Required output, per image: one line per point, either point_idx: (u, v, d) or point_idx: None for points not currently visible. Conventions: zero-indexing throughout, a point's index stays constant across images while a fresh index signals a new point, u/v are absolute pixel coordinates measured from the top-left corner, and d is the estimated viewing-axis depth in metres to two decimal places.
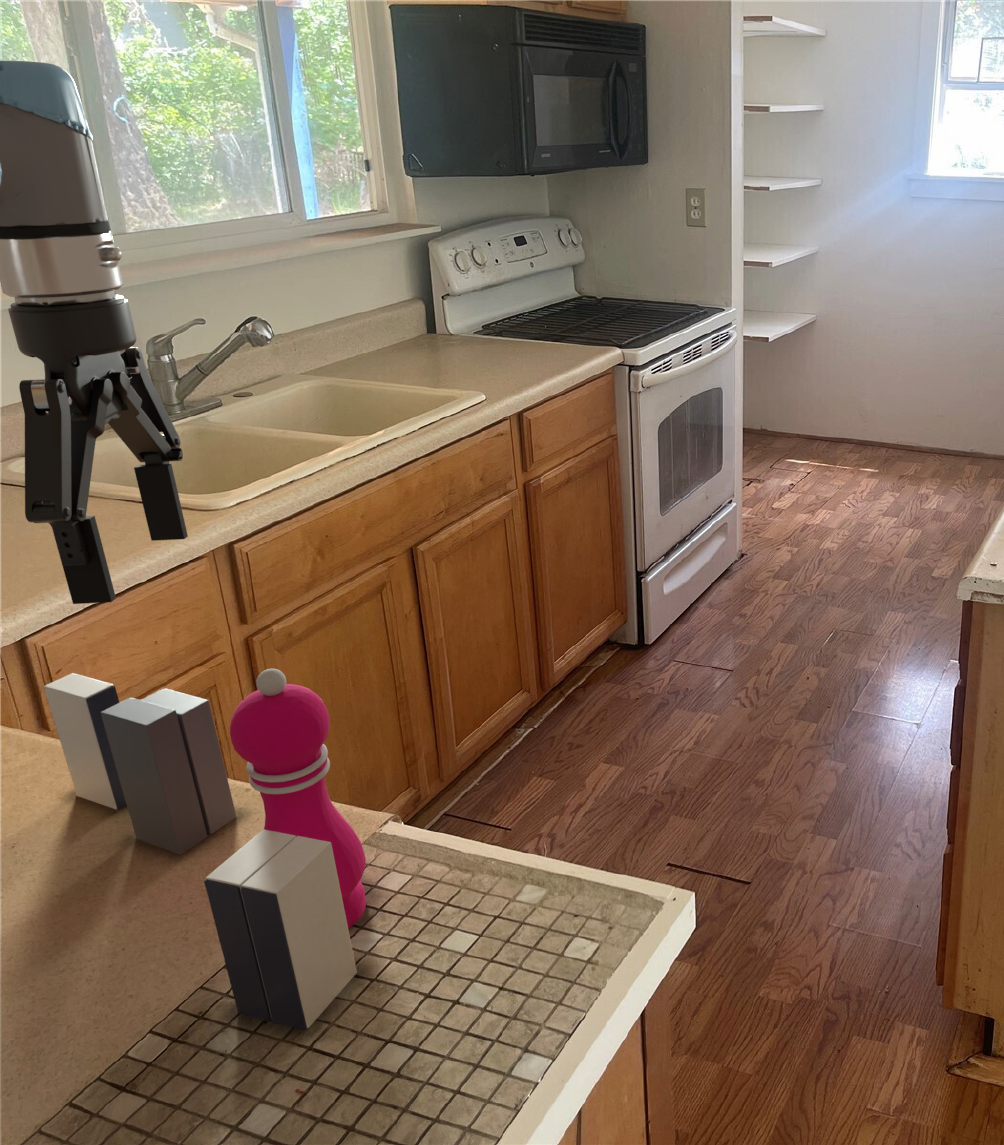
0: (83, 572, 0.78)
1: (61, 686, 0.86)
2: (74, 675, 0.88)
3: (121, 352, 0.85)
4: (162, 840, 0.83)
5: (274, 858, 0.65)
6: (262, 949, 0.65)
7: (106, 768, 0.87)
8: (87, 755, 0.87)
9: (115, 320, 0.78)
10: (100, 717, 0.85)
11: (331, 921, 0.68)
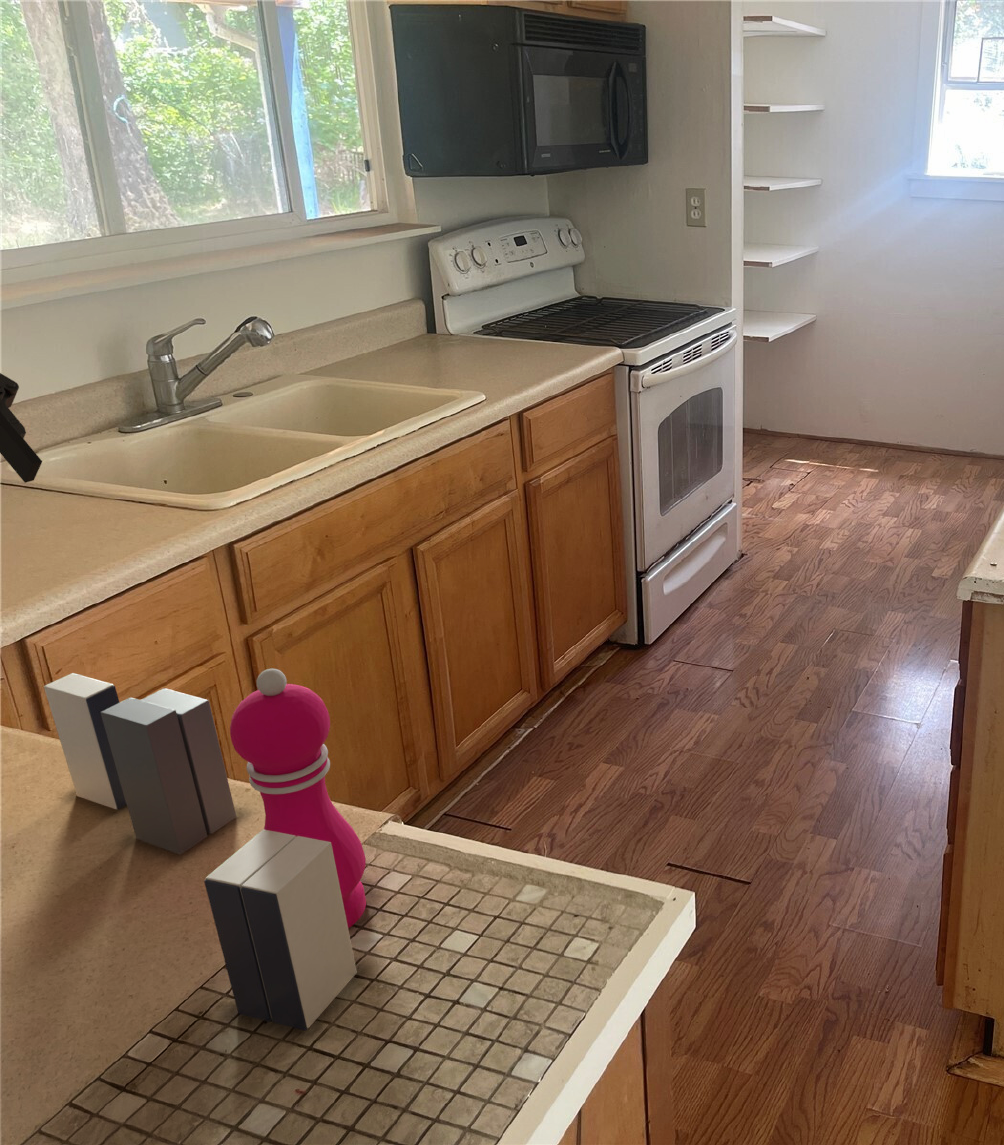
0: None
1: (61, 686, 0.86)
2: (74, 675, 0.88)
3: None
4: (162, 840, 0.83)
5: (274, 858, 0.65)
6: (262, 949, 0.65)
7: (106, 768, 0.87)
8: (87, 755, 0.87)
9: None
10: (100, 717, 0.85)
11: (331, 921, 0.68)
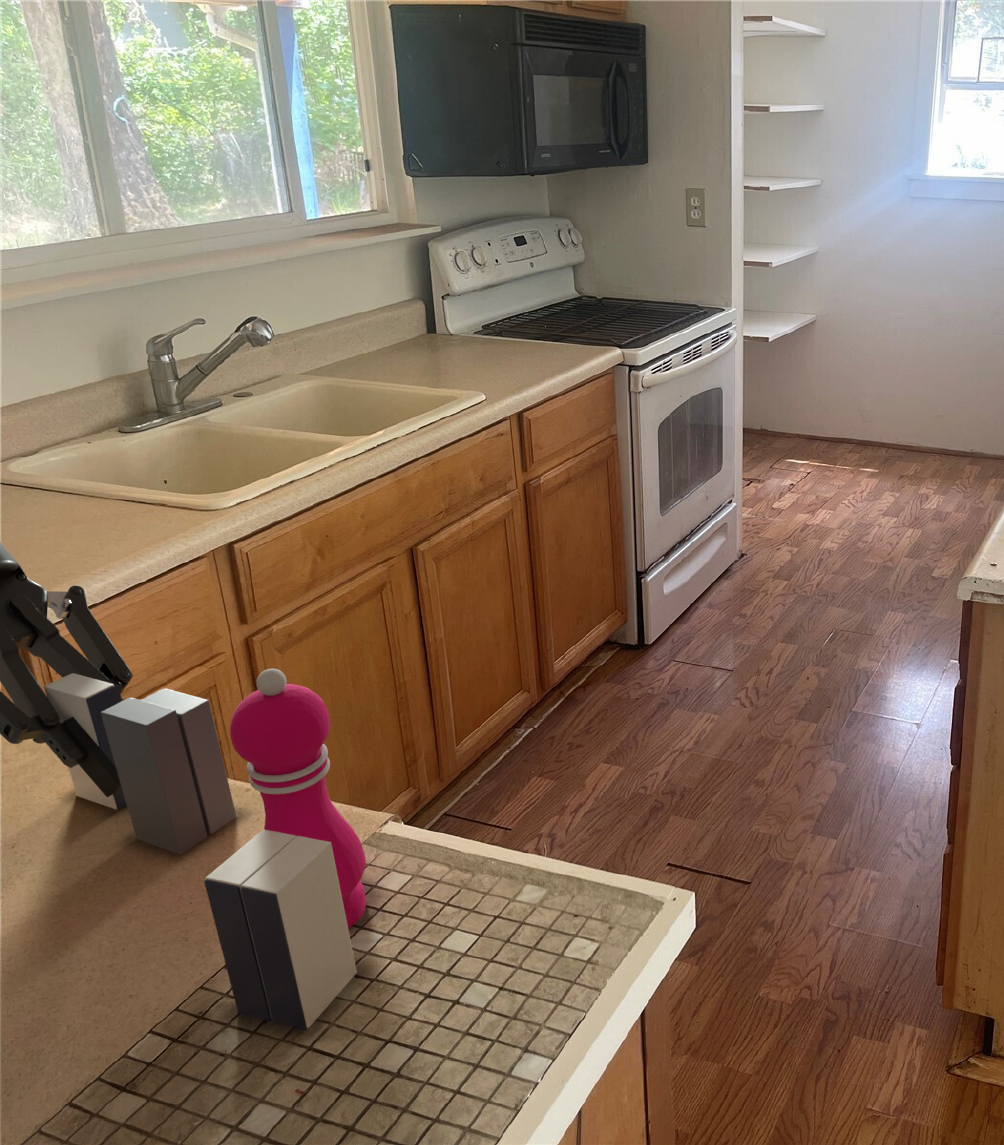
0: (92, 767, 0.86)
1: (61, 686, 0.86)
2: (74, 675, 0.88)
3: (63, 592, 0.92)
4: (162, 840, 0.83)
5: (274, 858, 0.65)
6: (262, 949, 0.65)
7: None
8: None
9: None
10: (100, 717, 0.85)
11: (331, 921, 0.68)
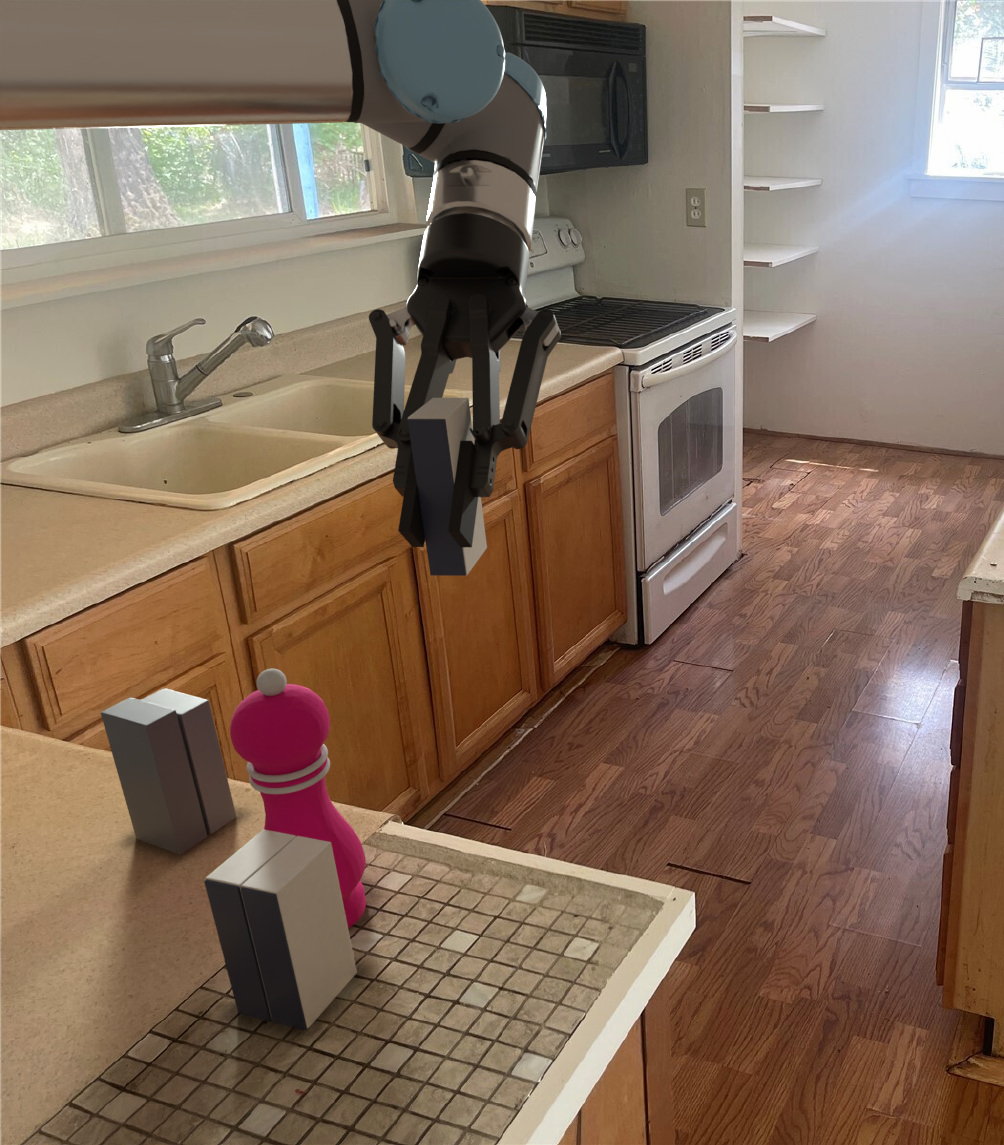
0: None
1: (432, 403, 0.71)
2: (462, 399, 0.72)
3: None
4: (162, 840, 0.83)
5: (274, 858, 0.65)
6: (262, 949, 0.65)
7: (421, 513, 0.70)
8: None
9: (442, 228, 0.74)
10: (421, 449, 0.69)
11: (331, 921, 0.68)
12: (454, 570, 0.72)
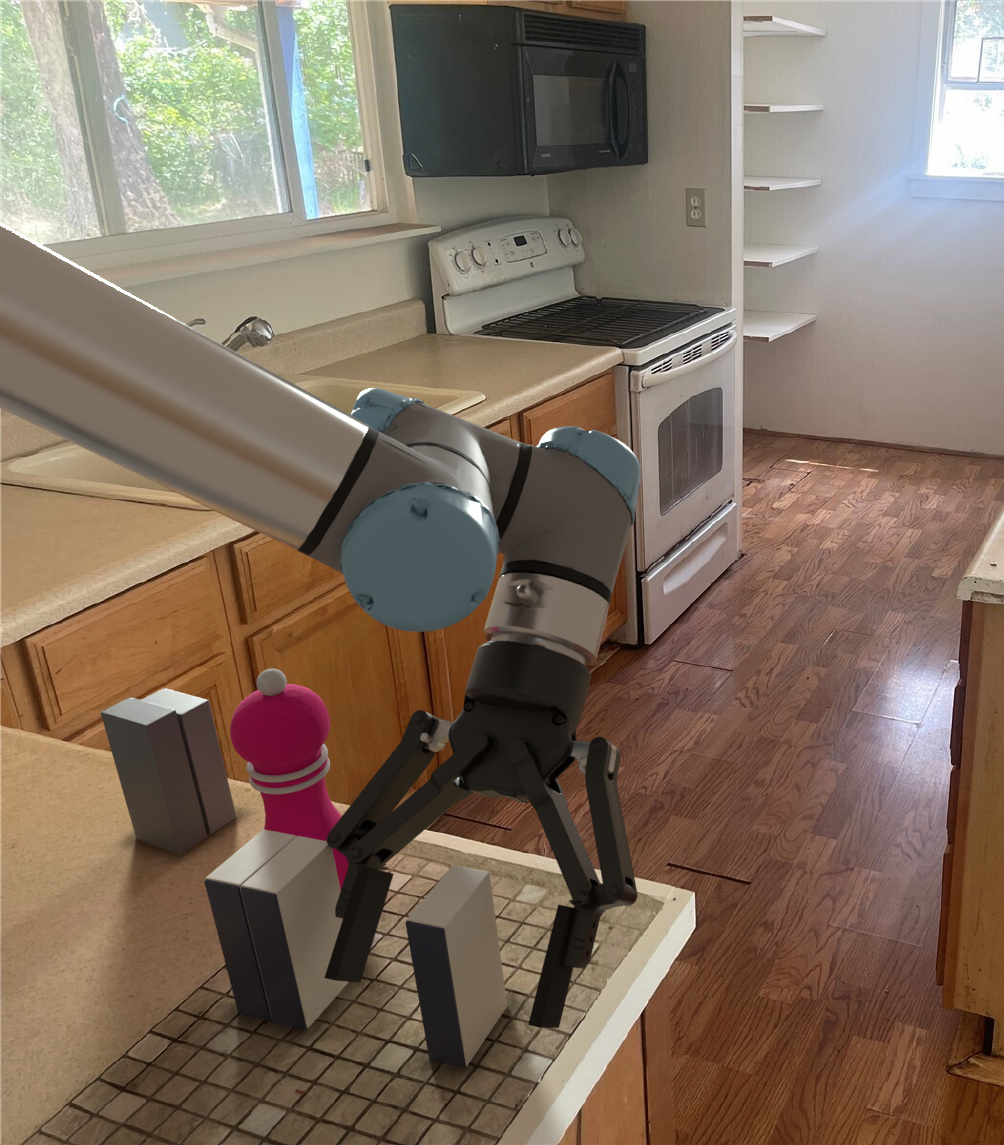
0: None
1: (446, 881, 0.63)
2: (480, 877, 0.64)
3: None
4: (162, 840, 0.83)
5: (274, 858, 0.65)
6: (262, 949, 0.65)
7: (421, 1007, 0.63)
8: None
9: (489, 659, 0.66)
10: (419, 951, 0.61)
11: (331, 921, 0.68)
12: None
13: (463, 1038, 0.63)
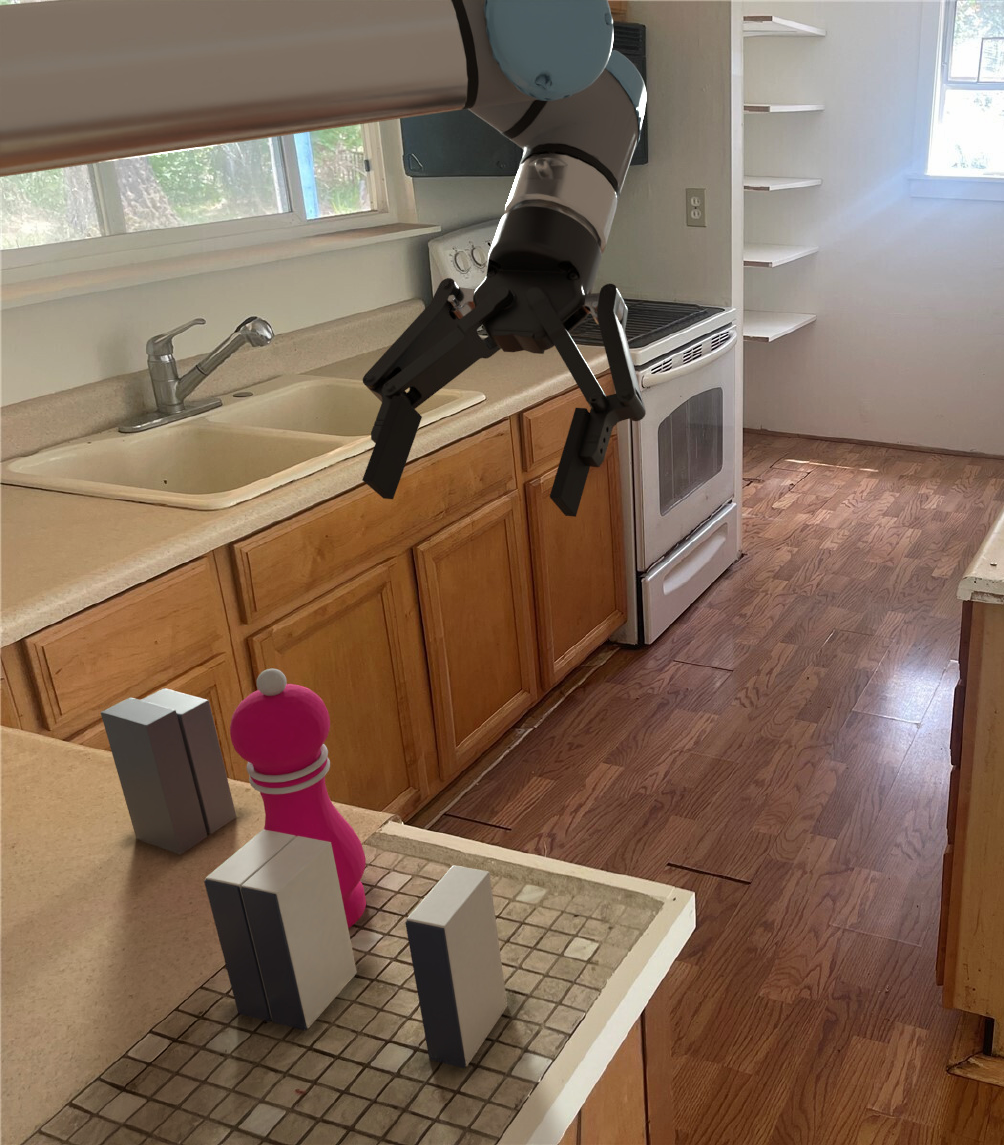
0: None
1: (446, 881, 0.63)
2: (480, 877, 0.64)
3: None
4: (162, 840, 0.83)
5: (274, 858, 0.65)
6: (262, 949, 0.65)
7: (421, 1007, 0.63)
8: None
9: (510, 221, 0.74)
10: (419, 951, 0.61)
11: (331, 921, 0.68)
12: None
13: (463, 1038, 0.63)
